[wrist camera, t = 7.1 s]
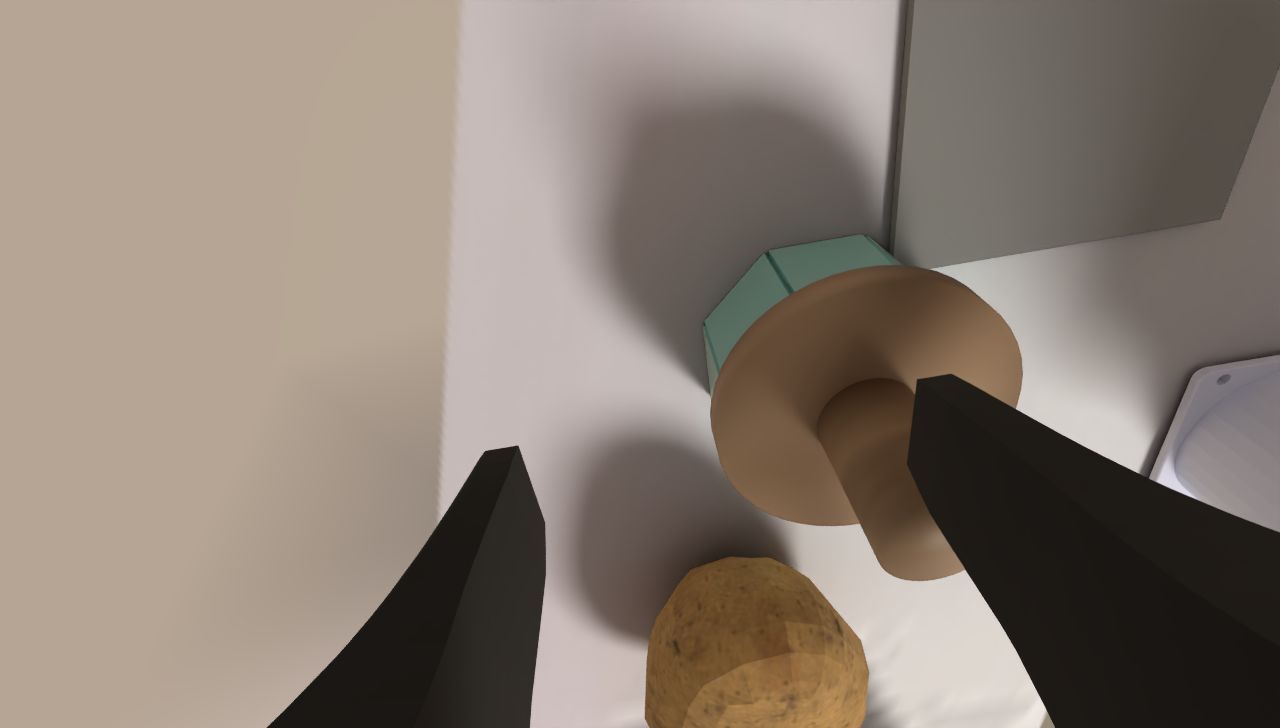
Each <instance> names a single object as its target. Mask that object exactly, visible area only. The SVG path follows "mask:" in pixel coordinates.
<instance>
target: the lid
mask: <svg viewBox="0 0 1280 728" xmlns="http://www.w3.org/2000/svg"><path fill="white" fill-rule="evenodd" d="M946 374H953V375H955V376H957V377H959V378H961V379H963V380H965V381H967V382H969V383H970V384H972V385H974V386H976V387H978V388H979V389H981V390H983V391H985V392H986V393H988V394H990V395H992V396H994V397H995V398H997V399H999V400H1001V401H1002V402H1004V403H1006V404H1008V405H1009V406H1011V407H1013V408H1015V409H1016V406H1017V403H1018V399H1019V395H1020V392H1021V385H1022V375H1023V371H1022V358H1021V354H1020V350H1019V346H1018V343H1017V340H1016V338H1015V336H1014V334H1013V332H1012V330H1011V328H1010V327H1009V326H1008V324H1007V323H1006V322H1005V320H1004V319H1003V318H1002V316H1001V315H1000V314H999V313H997V312H996V311H995V310H994V309H993V308H992V307H991V306H990V305H988V304H987V303H986V302H985V301H984V300H983V299H981V298H980V297H979V296H978V295H977V294H976V293H974V292H973V291H972V290H971V289H970V288H969V287H967V286H965V285H964V284H962V283H961V282H959V281H957V280H956V279H954V278H952V277H949V276H947V275H944V274H942V273H939V272H937V271H933V270H929V269H925V268H920V267H914V266H904V265H878V266H870V267H863V268H857V269H852V270H848V271H845V272H841V273H837V274H834V275H831V276H828V277H826V278H823V279H821V280H818V281H815V282H813V283H811V284H809V285H807V286H805V287H803V288H801V289H799V290H797V291H795V292H793V293H792V294H790V295H789V296H787V297H786V298H784V299H783V300H781V301H780V302H778V303H777V304H775V305H774V306H772V307H771V308H770V309H769V310H767V311H766V312H765V313H764V314H763V315H762V316H760V317H759V318H758V319H757V320H756V321H755V322H754V323H753V324H752V325H751V326H750V327H749V328H748V329H747V330H746V331H745V332H744V333H743V335H742V336H741V337H740V339H739V340H738V341H737V343H736V344H735V345H734V347H733V348H732V349H731V351H730V353H729V354H728V356H727V358H726V360H725V361H724V363H723V365H722V367H721V369H720V372H719V374H718V377H717V379H716V382H715V386H714V390H713V394H712V398H711V411H710V417H711V428H712V432H713V436H714V440H715V444H716V448H717V451H718V455H719V459H720V462H721V465H722V467H723V470H724V472H725V474H726V476H727V478H728V479H729V481H730V482H731V483H732V485H733V486H734V488H735V489H736V490H737V491H738V492H739V493H740V494H741V495H742V496H743V497H744V498H745V499H746V500H748V501H749V502H750V503H752V504H753V505H754V506H756V507H757V508H759V509H761V510H763V511H765V512H767V513H769V514H771V515H773V516H776V517H779V518H781V519H784V520H788V521H792V522H796V523H801V524H808V525H815V526H843V525H853V524H860V525H861V527H862V529H863V531H864V533H865V535H866V537H867V539H868V541H869V543H870V545H871V547H872V549H873V551H874V553H875V555H876V558H877V560H878V562H879V563H880V565H881V567H882V568H883V569H884V570H885V571H886V572H888V573H889V574H891V575H893V576H895V577H897V578H900V579H904V580H911V581H928V580H935V579H940V578H944V577H947V576H951V575H954V574H956V573H959V572H961V571H963V570H965V568H964V567H963V565H962V564H961V562H960V560H959V559H958V557H957V556H956V554H955V553H954V551H953V550H952V548H951V546H950V545H949V543H948V542H947V540H946V539H945V537H944V535H943V534H942V532H941V531H940V529H939V528H938V526H937V524H936V523H935V521H934V519H933V518H932V516H931V515H930V513H929V511H928V509H927V507H926V505H925V503H924V501H923V498H922V496H921V494H920V492H919V490H918V488H917V486H916V484H915V481H914V479H913V477H912V475H911V472H910V470H909V468H908V466H907V459H908V450H909V442H910V433H911V425H912V416H913V408H914V400H915V391H916V383H917V379H922V378H928V377H934V376H940V375H946Z"/></svg>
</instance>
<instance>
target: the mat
mask: <svg viewBox="0 0 1280 728" xmlns="http://www.w3.org/2000/svg"><path fill="white" fill-rule="evenodd" d="M1279 66H1280V0H908V8H907V21H906V34H905V47H904V60H903V73H902V86H901V99H900V112H899V125H898V138H897V151H896V164H895V177H894V190H893V203H892V216H891V229H890V242H889V253H890V254H891V255H892V256H893V257H894V258H895V259H896V260H898V261H899V262H900V263H901V264H902V265H904V266H914V267H920V268H925V269H932V268H938V267H943V266H949V265H955V264H961V263H967V262H973V261H979V260H985V259H990V258H996V257H1002V256H1008V255H1014V254H1020V253H1026V252H1031V251H1037V250H1043V249H1049V248H1055V247H1061V246H1067V245H1073V244H1078V243H1084V242H1090V241H1096V240H1102V239H1108V238H1114V237H1120V236H1125V235H1131V234H1137V233H1143V232H1149V231H1155V230H1161V229H1167V228H1172V227H1178V226H1184V225H1190V224H1196V223H1202V222H1208V221H1214V220H1219V219H1221V217H1222V214H1223V211H1224V209H1225V206H1226V204H1227V201H1228V198H1229V196H1230V193H1231V191H1232V188H1233V185H1234V183H1235V180H1236V178H1237V175H1238V173H1239V170H1240V167H1241V165H1242V162H1243V160H1244V157H1245V154H1246V152H1247V149H1248V147H1249V144H1250V141H1251V139H1252V136H1253V134H1254V131H1255V128H1256V126H1257V123H1258V121H1259V118H1260V115H1261V113H1262V110H1263V108H1264V105H1265V102H1266V100H1267V97H1268V95H1269V92H1270V89H1271V87H1272V84H1273V82H1274V79H1275V76H1276V74H1277V71H1278V69H1279Z"/></svg>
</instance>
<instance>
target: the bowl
mask: <svg viewBox="0 0 1280 728" xmlns="http://www.w3.org/2000/svg"><path fill="white" fill-rule="evenodd" d="M878 265H902V264H901V263H900V262H899V261H898V260H896V259H895V258H894V257H893V256H892V255H891V254H890V253H889V252H887V251H886V250H885V249H884V248H882V247H881V246H880V245H879V244H878V243H876V242H875V241H874V240H873V239H871V238H870V237H869V236H868V235H867V236H866V237H864V236H863V235H862V234H859V235H853V236H847V237H841V238H836V239H830V240H824V241H818V242H812V243H807V244H801V245H795V246H789V247H783V248H777V249H772V250H769V257H768V256H767V255H765V254H764V253H763V254H762V255H761V256H760V258H759V259H758V260H757V261H756V262H755V263H754V264H753V266H752V267H751V268H750V269H749V270H748V271H747V272H746V274H745V275H744V276H743V277H742V278H741V279H740V280H739V282H738V283H737V284H736V285H735V286H734V287H733V289H732V290H731V291H730V292H729V293H728V294H727V295H726V297H725V298H724V299H723V300H722V301H721V302H720V303H719V305H718V306H717V307H716V308H715V309H714V310H713V311H712V313H711V314H710V315H709V316H708V317H707V318H706V320H705V321H704V322H705V325H704V326H703V333H704V342H705V351H706V360H707V369H708V378H709V387H710V396H711V398H712V394H713V390H714V386H715V382H716V379H717V377H718V374H719V372H720V369H721V367H722V365H723V363H724V361H725V360H726V358H727V356H728V354H729V353H730V351H731V349H732V348H733V347H734V345H735V344H736V343H737V341H738V340H739V339H740V337H741V336H742V335H743V333H744V332H745V331H746V330H747V329H748V328H749V327H750V326H751V325H752V324H753V323H754V322H755V321H756V320H757V319H758V318H759V317H760V316H762V315H763V314H764V313H765V312H766V311H767V310H769V309H770V308H771V307H772V306H774V305H775V304H777V303H778V302H780V301H781V300H783V299H784V298H786V297H787V296H789V295H790V294H792V293H793V292H795V291H797V290H799V289H801V288H803V287H805V286H807V285H809V284H811V283H813V282H815V281H818V280H821V279H823V278H826V277H828V276H831V275H834V274H837V273H841V272H845V271H848V270H852V269H857V268H863V267H870V266H878Z"/></svg>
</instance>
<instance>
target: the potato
mask: <svg viewBox="0 0 1280 728" xmlns="http://www.w3.org/2000/svg"><path fill="white" fill-rule="evenodd" d="M868 679H869V670H868V666H867V662H866V658H865V654H864V650H863V647H862V643H861V640H860V639H859V638H858V636H857V635H856V634H855V633H854V632H853V630H852V629H851V628H850V627H849V625H848V624H847V623H846V622H845V621H844V619H843V618H842V617H841V616H840V615H839V614H838V612H837V611H836V610H835V609H834V608H833V606H832V605H831V604H830V603H829V602H828V600H827V599H826V598H825V597H824V596H823V595H822V593H821V592H820V591H819V590H818V589H817V587H816V586H815V585H814V584H813V583H812V581H811V580H810V579H809V578H807V577H806V576H804V575H803V574H801V573H800V572H798V571H796V570H795V569H793V568H792V567H790V566H787V565H785V564H783V563H781V562H778V561H776V560H774V559H772V558H769V557H763V558H744V557H732V556H729V557H726V558H723V559H720V560H717V561H714V562H711V563H708V564H705V565H702V566H699V567H696V568H693V569H691V570H690V571H689V572H688V573H687V575H686V576H685V577H684V578H683V579H682V580H681V581H680V582H679V584H678V585H677V587H676V589H675V590H674V592H673V593H672V595H671V596H670V598H669V599H668V601H667V602H666V604H665V605H664V607H663V608H662V610H661V612H660V613H659V615H658V616H657V618H656V619H655V623H654V626H653V629H652V632H651V635H650V639H649V646H648V654H647V669H646V697H645V720H646V722H647V723H648V725H649V727H650V728H860V727H861V725H862V723H863V721H864V719H865V711H866V700H867V689H868Z"/></svg>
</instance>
